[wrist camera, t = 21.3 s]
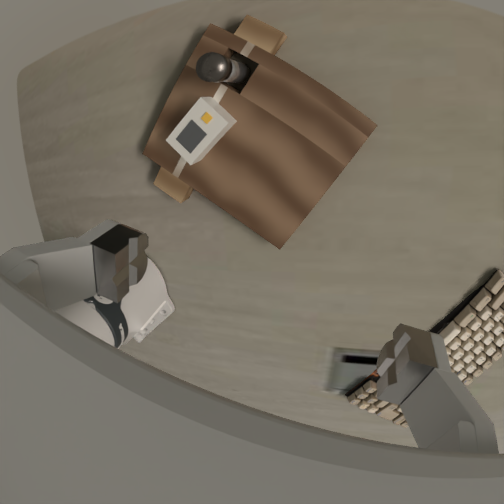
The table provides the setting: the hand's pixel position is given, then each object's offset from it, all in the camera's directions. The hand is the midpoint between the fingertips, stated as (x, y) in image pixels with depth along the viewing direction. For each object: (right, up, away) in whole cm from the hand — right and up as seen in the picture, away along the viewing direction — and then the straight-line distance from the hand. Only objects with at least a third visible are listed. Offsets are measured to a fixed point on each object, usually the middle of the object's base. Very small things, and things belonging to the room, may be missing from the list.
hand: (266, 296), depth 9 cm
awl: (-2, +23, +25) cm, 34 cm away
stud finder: (-6, +16, +27) cm, 32 cm away
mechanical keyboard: (+33, -17, +36) cm, 52 cm away
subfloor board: (0, +16, +28) cm, 32 cm away
